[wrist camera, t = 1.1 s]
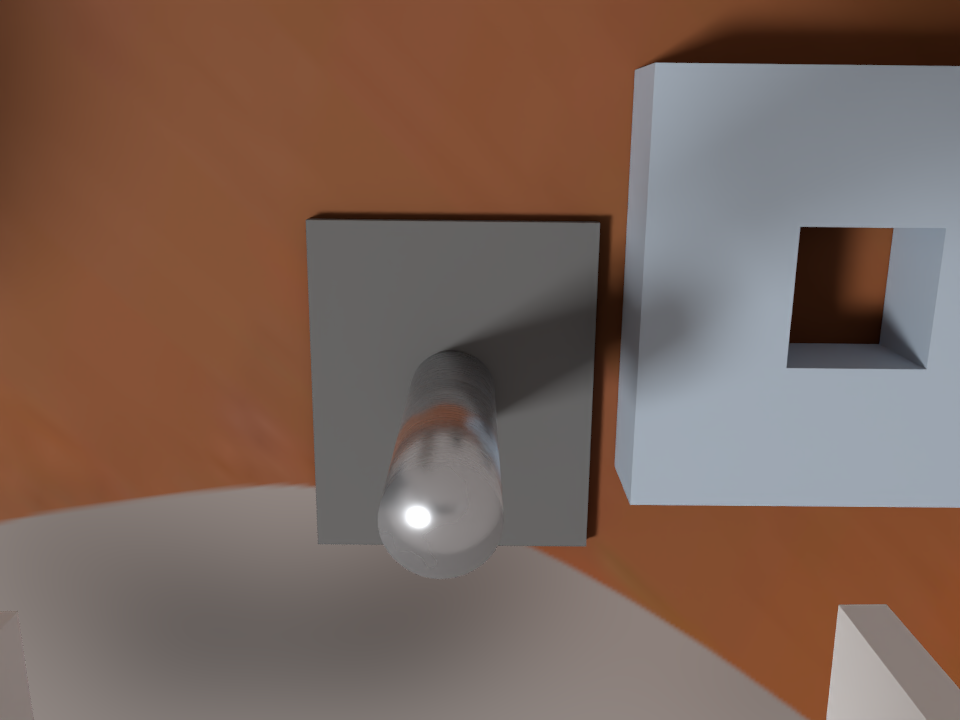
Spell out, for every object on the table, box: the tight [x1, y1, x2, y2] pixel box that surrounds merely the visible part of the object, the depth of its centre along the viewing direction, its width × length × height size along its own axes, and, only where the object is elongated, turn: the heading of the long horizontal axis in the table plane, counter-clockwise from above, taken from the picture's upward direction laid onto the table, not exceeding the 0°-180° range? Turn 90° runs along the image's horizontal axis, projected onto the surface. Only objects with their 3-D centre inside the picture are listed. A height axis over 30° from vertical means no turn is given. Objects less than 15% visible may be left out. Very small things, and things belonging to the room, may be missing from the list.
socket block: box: [615, 63, 960, 507], centre depth 30 cm, size 14×14×4 cm
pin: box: [378, 350, 504, 579], centre depth 27 cm, size 3×3×11 cm
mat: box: [306, 219, 600, 546], centre depth 32 cm, size 10×12×1 cm
